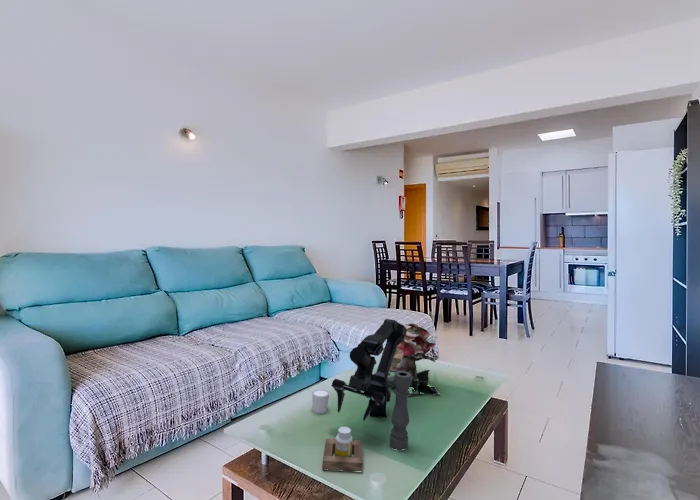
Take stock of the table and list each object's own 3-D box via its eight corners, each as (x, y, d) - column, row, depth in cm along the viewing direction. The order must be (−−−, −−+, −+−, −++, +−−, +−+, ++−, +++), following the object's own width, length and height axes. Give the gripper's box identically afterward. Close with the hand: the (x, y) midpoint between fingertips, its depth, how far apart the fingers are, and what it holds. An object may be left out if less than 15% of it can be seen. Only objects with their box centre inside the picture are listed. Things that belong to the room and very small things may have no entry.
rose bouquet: (414, 371, 200) (417, 314, 198) (447, 395, 173) (451, 330, 171) (369, 376, 191) (372, 316, 189) (396, 402, 163) (400, 333, 162)
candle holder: (387, 440, 134) (392, 370, 132) (405, 440, 134) (409, 370, 133) (391, 451, 127) (395, 377, 126) (409, 451, 128) (414, 378, 126)
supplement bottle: (341, 466, 118) (343, 436, 117) (331, 458, 122) (332, 428, 121) (354, 460, 121) (356, 431, 121) (344, 452, 125) (345, 423, 125)
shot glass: (326, 415, 149) (326, 397, 149) (309, 412, 150) (309, 395, 150) (330, 407, 156) (331, 390, 155) (314, 405, 157) (314, 388, 157)
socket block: (361, 449, 127) (361, 440, 127) (361, 472, 115) (362, 463, 115) (325, 447, 128) (325, 438, 127) (322, 470, 116) (322, 460, 115)
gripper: (335, 358, 134) (320, 403, 127) (387, 373, 129) (373, 421, 121) (341, 367, 144) (327, 409, 136) (390, 381, 138) (378, 426, 131)
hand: (350, 416), depth 131 cm, fingers open, 9 cm apart
